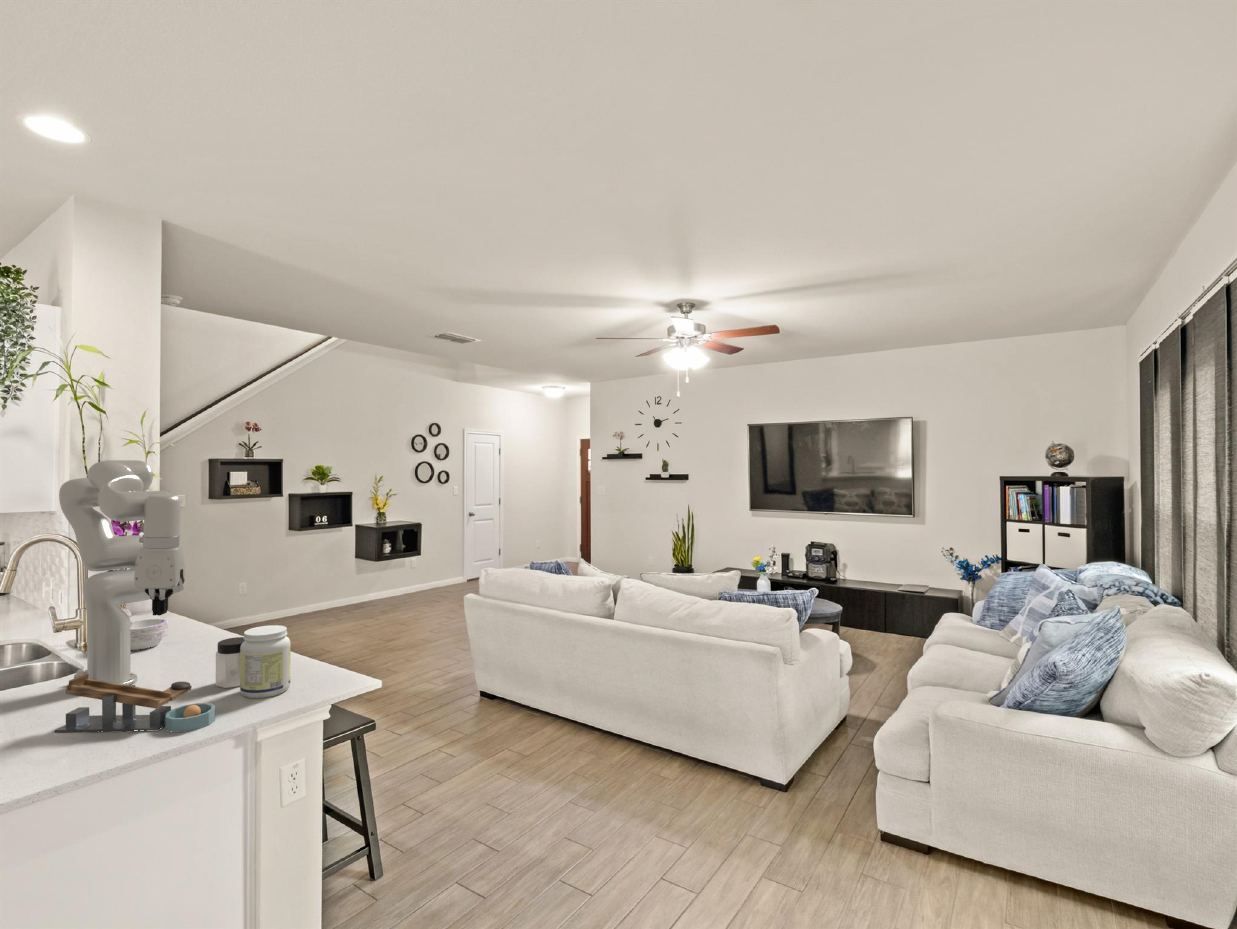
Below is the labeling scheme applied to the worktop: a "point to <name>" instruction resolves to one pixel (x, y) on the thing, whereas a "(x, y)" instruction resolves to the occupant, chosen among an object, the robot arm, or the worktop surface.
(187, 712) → the ball
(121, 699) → the lever
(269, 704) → the worktop surface
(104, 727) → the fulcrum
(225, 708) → the worktop surface
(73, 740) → the worktop surface
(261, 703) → the worktop surface
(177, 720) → the dish
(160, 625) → the paper bowls
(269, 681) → the supplement tub
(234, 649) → the jar
